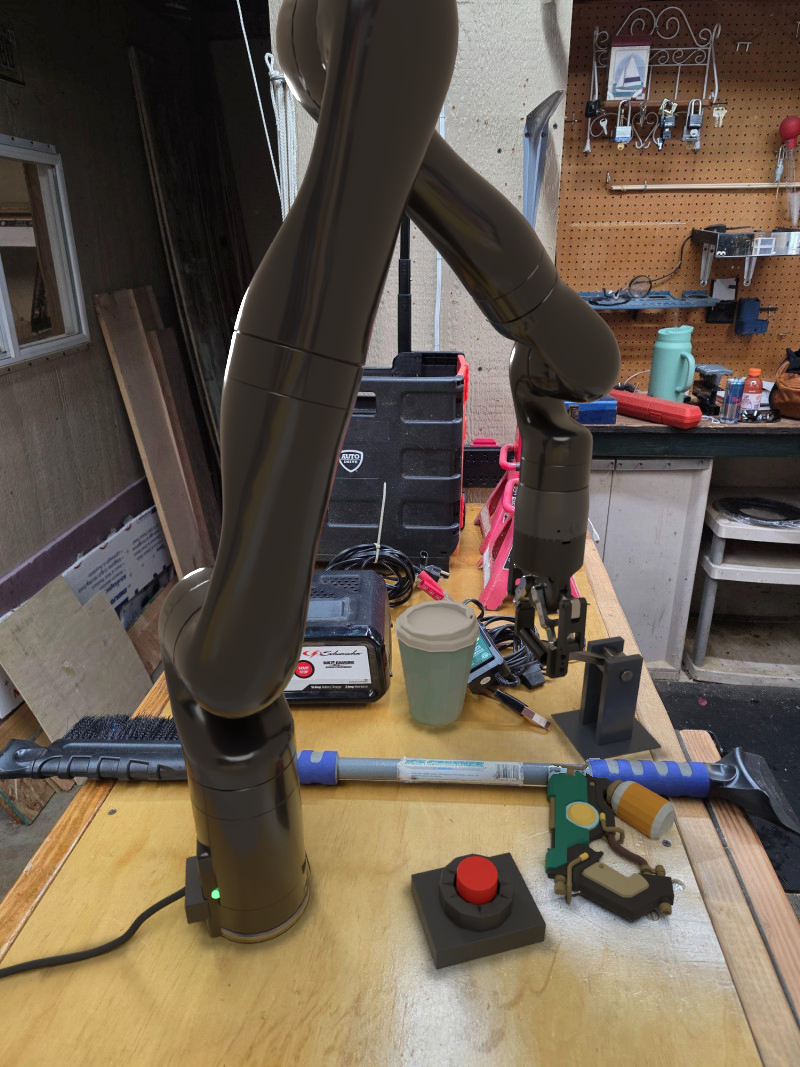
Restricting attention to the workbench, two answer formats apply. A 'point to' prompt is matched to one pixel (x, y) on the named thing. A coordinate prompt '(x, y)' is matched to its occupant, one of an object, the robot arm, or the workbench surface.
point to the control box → (475, 914)
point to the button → (477, 880)
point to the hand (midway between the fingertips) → (539, 655)
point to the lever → (541, 651)
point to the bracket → (608, 707)
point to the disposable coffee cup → (437, 658)
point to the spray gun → (588, 818)
